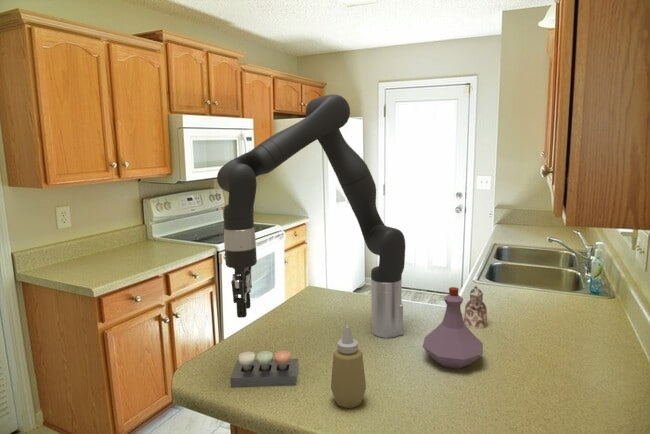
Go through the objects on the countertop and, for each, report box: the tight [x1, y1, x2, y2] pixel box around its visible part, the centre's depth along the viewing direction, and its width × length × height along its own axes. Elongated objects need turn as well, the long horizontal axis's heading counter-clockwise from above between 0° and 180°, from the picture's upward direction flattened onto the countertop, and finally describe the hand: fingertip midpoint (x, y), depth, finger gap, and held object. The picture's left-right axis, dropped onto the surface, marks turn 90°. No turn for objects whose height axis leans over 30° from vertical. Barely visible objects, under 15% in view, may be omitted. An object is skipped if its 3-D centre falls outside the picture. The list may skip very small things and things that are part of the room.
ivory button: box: [238, 351, 256, 371], centre depth 113 cm, size 4×4×4 cm
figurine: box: [463, 285, 488, 330], centre depth 142 cm, size 7×7×12 cm
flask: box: [422, 286, 484, 370], centre depth 118 cm, size 16×16×20 cm
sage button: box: [256, 350, 274, 371], centre depth 113 cm, size 4×4×4 cm
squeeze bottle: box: [330, 325, 367, 409], centre depth 100 cm, size 8×8×18 cm
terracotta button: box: [273, 350, 291, 370], centre depth 113 cm, size 4×4×4 cm
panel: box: [229, 358, 299, 388], centre depth 114 cm, size 16×9×2 cm, turn 90°
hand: (244, 312), depth 111 cm, fingers open, 5 cm apart
